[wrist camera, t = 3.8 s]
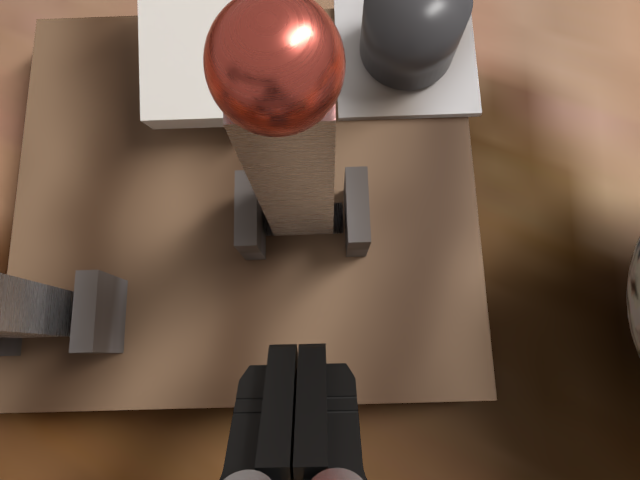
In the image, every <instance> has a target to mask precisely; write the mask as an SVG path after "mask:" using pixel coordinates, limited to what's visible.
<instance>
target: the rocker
mask: <svg viewBox="0 0 640 480" xmlns="http://www.w3.org/2000/svg"><path fill="white" fill-rule="evenodd" d="M231 1H232V0H138V41H139V85H140V121H141V122H143V123H144V124H146V125H147V126H149V127H150V128H152V129H180V128H210V127H224V126H223V112H222V111H221V110H220V108H219V107H218V106H217V104H216V103H215V101H214V99H213V97H212V95H211V93H210V91H209V88H208V86H207V83H206V79H205V74H204V67H203V53H204V45H205V41H206V37H207V34H208V32H209V29H210V27H211V25H212V23H213V21H214V19H215V18H216V16H217V15H218V14H219V13H220V11H221V10H222V9H223V8H224V7H225V6H226V5H227V4H228V3H229V2H231Z"/></svg>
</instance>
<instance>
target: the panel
mask: <svg viewBox="0 0 640 480" xmlns="http://www.w3.org/2000/svg"><path fill="white" fill-rule="evenodd" d="M363 4H364V0H334V9H324V10H325V11H326V12H327V14H328V15H329V16H330V17H331V19H332V21H333V22H334V24H335V25H336V27H337V29H338V31H339V34H340V36H341V39H342V42H343V46H344V50H345V60H346V70H345V77H344V83H343V86H342V89H341V92H340V95H339V97H338V99H337V101H336V103H335V110H336V137H335V179H334V203H341V202H342V204H343V233H336V234H312V235H278V236H274V235H270V236H266V234H265V229H264V212H263V210H262V208H261V206H260V204H259V202H258V199H257V197H256V195H255V193H254V191H253V189H252V186H251V184H250V182H249V180H248V178H247V175H246V173H245V171H244V169H243V167H242V165H241V162H240V160H239V158H238V156H237V154H236V152H235V149H234V147H233V145H232V143H231V141H230V139H229V136H228V134H227V132H226V130H225V128H224V127H210V128H180V129H152V128H150V127H149V126H147V125H146V124H144V123H143V122H141V121H140V85H139V41H138V16H117V17H89V18H62V19H37V21H36V30H35V38H34V47H33V55H32V64H31V72H30V81H29V90H28V98H27V107H26V115H25V124H24V133H23V141H22V150H21V158H20V167H19V175H18V184H17V193H16V201H15V210H14V218H13V227H12V235H11V244H10V253H9V261H8V270H7V275H11V276H15V277H19V278H23V279H27V280H31V281H34V282H38V283H42V284H46V285H50V286H54V287H58V288H62V289H66V290H70V291H74V296H73V308H72V320H71V332H70V337H33V338H1V337H0V413H30V412H69V411H108V410H147V409H186V408H225V407H234V406H235V402H236V394H237V388H238V383H239V380H240V378H241V377H242V375H243V374H244V373H245V371H246V370H247V368H248V367H249V365H267V358H268V349H269V345H275V344H297V350H298V347H299V344H320V343H326V364H328V363H346V364H347V365H348V367H349V368H350V370H351V372H352V373H353V375H354V377H355V379H356V391H357V403H358V404H381V403H420V402H459V401H497V396H496V386H495V376H494V367H493V357H492V347H491V337H490V327H489V317H488V307H487V298H486V288H485V278H484V268H483V258H482V248H481V238H480V229H479V219H478V209H477V199H476V189H475V179H474V169H473V160H472V150H471V140H470V130H469V120H468V117H474V116H480V115H481V114H482V108H481V99H480V89H479V80H478V71H477V62H476V52H475V43H474V34H473V25H472V16H470V18H469V21H468V23H467V26H466V28H465V30H464V33H463V35H462V38H461V40H460V43H459V45H458V48H457V50H456V52H455V55H454V57H453V60H452V62H451V64H450V67H449V68H448V70H447V72H446V73H445V74H444V75H443V77H441V78H440V79H439V80H438V81H437V82H435V83H434V84H432V85H430V86H428V87H425V88H422V89H418V90H410V91H408V90H397V89H393V88H390V87H388V86H385V85H383V84H381V83H380V82H378V81H377V80H376V79H374V78H373V77H372V76H371V75H370V74H369V72H368V71H367V70H366V68H365V67H364V65H363V62H362V60H361V56H360V36H361V25H362V14H363Z"/></svg>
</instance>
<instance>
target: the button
mask: <svg viewBox="0 0 640 480" xmlns="http://www.w3.org/2000/svg"><path fill="white" fill-rule="evenodd" d="M472 7H473V0H364V4H363V14H362V25H361V36H360V56H361V60H362V62H363V65H364V67H365V68H366V70H367V71H368V72H369V74H370V75H371V76H372V77H373V78H374V79H376V80H377V81H378V82H380V83H381V84H383V85H385V86H388V87H390V88H393V89H397V90H408V91H410V90H418V89H422V88H425V87H428V86H430V85H432V84H434V83H435V82H437V81H438V80H439V79H440V78H441V77H443V75H444V74H445V73H446V72H447V70H448V68H449V67H450V64H451V62H452V60H453V57H454V55H455V52H456V50H457V48H458V45H459V43H460V40H461V38H462V35H463V33H464V30H465V28H466V26H467V23H468V21H469V18H470V16H471V12H472Z"/></svg>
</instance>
